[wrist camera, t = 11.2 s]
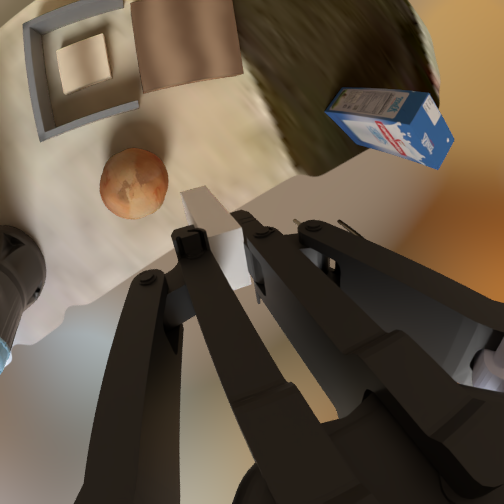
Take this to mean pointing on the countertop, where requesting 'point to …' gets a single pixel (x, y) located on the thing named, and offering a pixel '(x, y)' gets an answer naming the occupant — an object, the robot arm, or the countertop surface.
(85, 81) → the birch tile
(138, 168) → the onion
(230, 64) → the walnut platform
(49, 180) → the countertop surface
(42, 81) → the box
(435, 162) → the milk carton
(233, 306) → the robot arm
